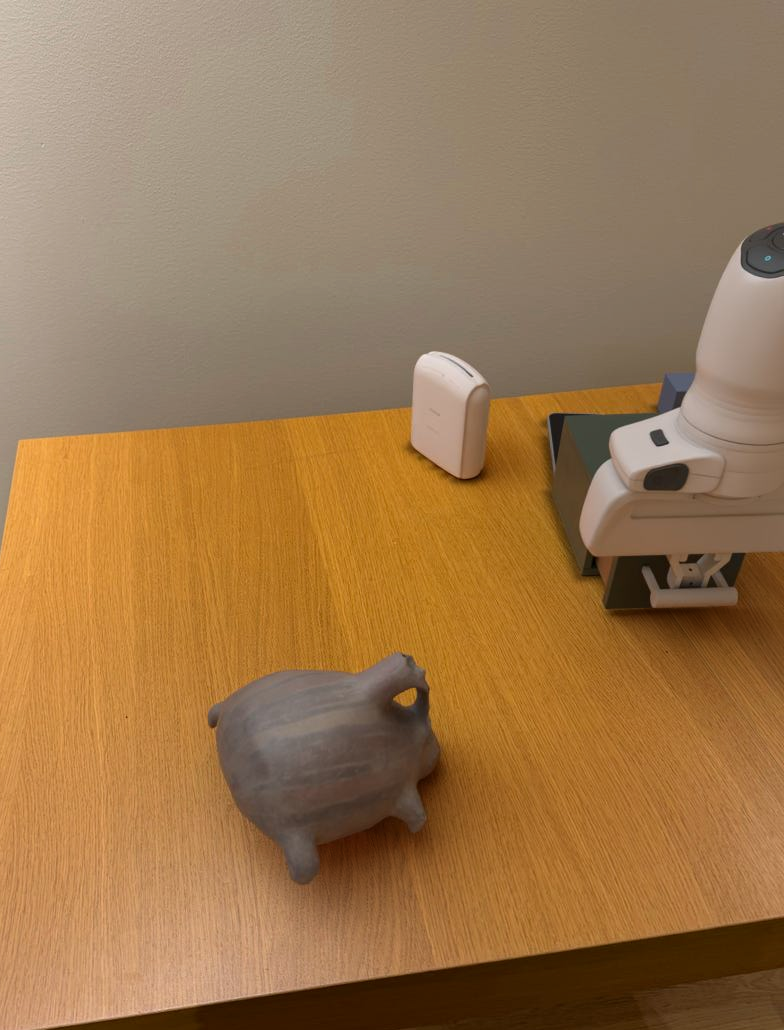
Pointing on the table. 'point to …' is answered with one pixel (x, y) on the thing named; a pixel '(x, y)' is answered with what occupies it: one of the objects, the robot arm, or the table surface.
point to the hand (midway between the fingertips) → (685, 585)
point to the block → (674, 390)
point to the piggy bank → (326, 754)
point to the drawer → (663, 583)
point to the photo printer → (450, 413)
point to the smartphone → (557, 432)
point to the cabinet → (583, 472)
